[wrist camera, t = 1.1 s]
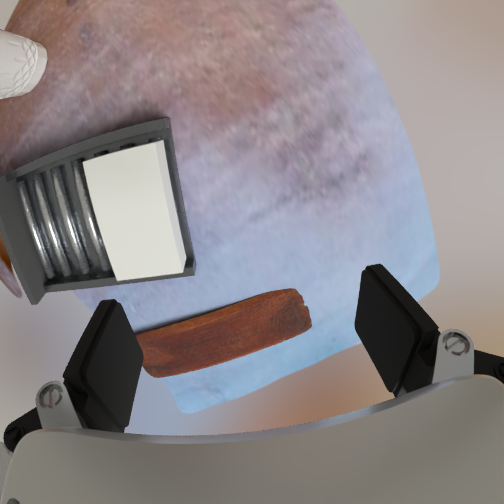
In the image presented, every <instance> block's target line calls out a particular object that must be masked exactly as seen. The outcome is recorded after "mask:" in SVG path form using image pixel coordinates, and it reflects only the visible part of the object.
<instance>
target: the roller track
mask: <svg viewBox="0 0 504 504" xmlns="http://www.w3.org/2000/svg"><path fill="white" fill-rule="evenodd" d="M161 140H163V141H164V147H165V153H166V159H167V165H168V171H169V177H170V182H171V188H172V193H173V198H174V203H175V208H176V213H177V218H178V222H179V227H180V232H181V236H182V241H183V245H184V250H185V254H186V261H185V266H184V270H183V273H177V274H169V275H161V276H153V277H145V278H137V279H129V280H121V281H117V279H116V276H115V274H114V271H113V268H112V266H111V263H110V260H109V257H108V254H107V251H106V248H105V245H104V242H103V239H102V236H101V233H100V229H99V226H98V223H97V219H96V216H95V212H94V208H93V205H92V201H91V197H90V193H89V189H88V185H87V181H86V176H85V172H84V167H83V162H84V161H87V160H90V159H92V158H95V157H98V156H102V155H105V154H109V153H112V152H116V151H119V150H123V149H127V148H131V147H135V146H139V145H143V144H148V143H152V142H157V141H161ZM0 233H1V236H2V239H3V241H4V244H5V247H6V250H7V252H8V255H9V257H10V260H11V262H12V264H13V267H14V269H15V271H16V274H17V276H18V278H19V280H20V282H21V285H22V287H23V289H24V291H25V293H26V295H27V297H28V299H29V301H30V302H31V304H32V305H34V304H38V303H39V301H40V300H41V299H42V297H43V296H44V295H45V293H47V292H57V291H65V290H76V289H85V288H94V287H103V286H112V285H121V284H129V283H138V282H146V281H154V280H162V279H170V278H178V277H186V276H194V275H195V270H196V260H195V256H194V251H193V247H192V242H191V237H190V232H189V228H188V223H187V218H186V213H185V207H184V202H183V197H182V191H181V186H180V180H179V174H178V168H177V162H176V156H175V150H174V143H173V137H172V130H171V123H170V118H162V119H158V120H153V121H149V122H145V123H141V124H137V125H133V126H129V127H126V128H122V129H119V130H115V131H112V132H108V133H105V134H102V135H99V136H96V137H93V138H90V139H87V140H84V141H81V142H78V143H75V144H73V145H70V146H67V147H65V148H62V149H60V150H57V151H55V152H52V153H50V154H47V155H45V156H43V157H41V158H38V159H36V160H34V161H32V162H29V163H27V164H25V165H23V166H21V167H19V168H17V169H15V170H13V171H11V172H9V173H7V174H5V175H3V176H0Z"/></svg>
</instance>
